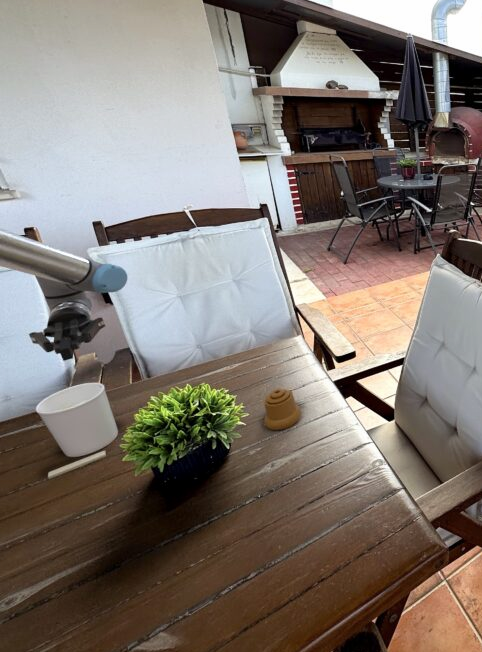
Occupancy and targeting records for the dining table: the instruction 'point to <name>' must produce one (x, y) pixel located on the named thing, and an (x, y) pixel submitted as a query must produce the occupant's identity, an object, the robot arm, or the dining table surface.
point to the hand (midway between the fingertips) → (66, 354)
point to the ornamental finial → (281, 410)
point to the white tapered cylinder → (79, 419)
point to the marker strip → (76, 464)
